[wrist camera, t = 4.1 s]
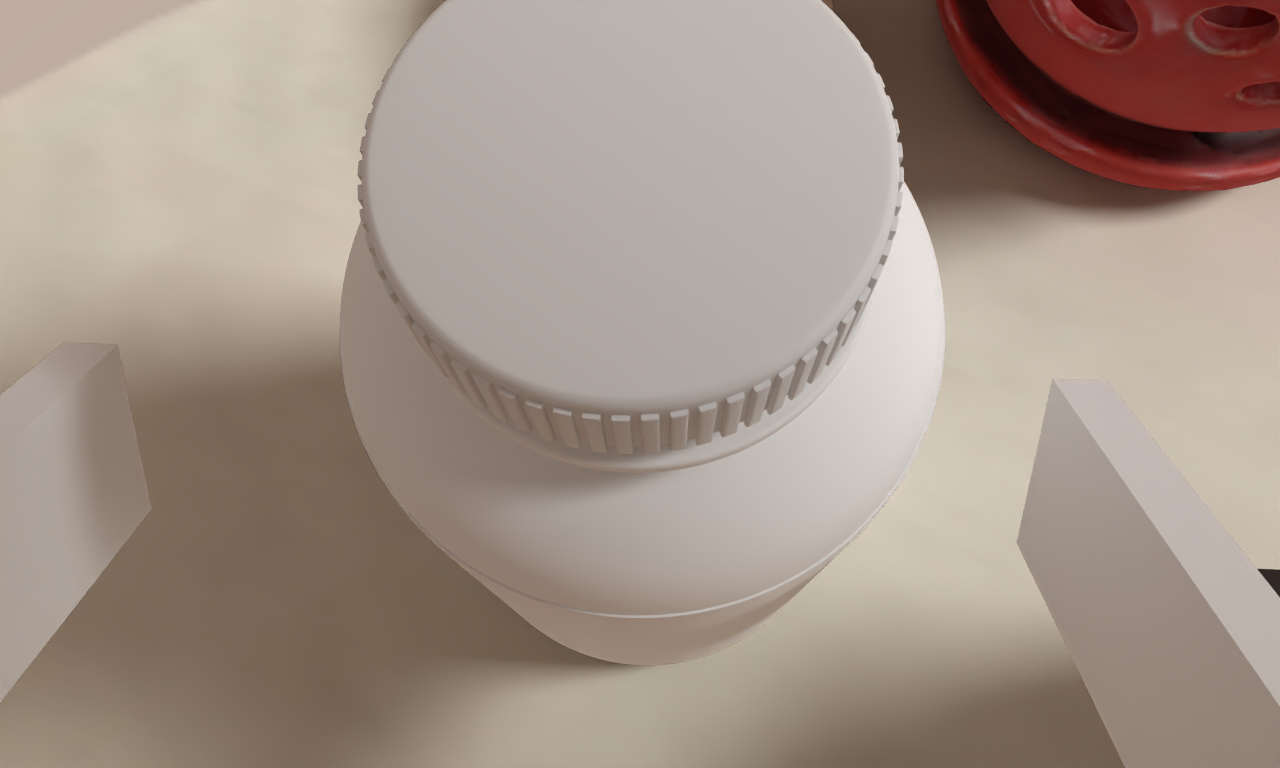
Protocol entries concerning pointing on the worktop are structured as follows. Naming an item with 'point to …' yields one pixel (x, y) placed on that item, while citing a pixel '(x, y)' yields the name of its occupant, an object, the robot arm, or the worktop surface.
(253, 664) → the worktop surface
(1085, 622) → the robot arm
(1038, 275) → the worktop surface
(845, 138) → the pill bottle
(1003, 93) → the plant pot
